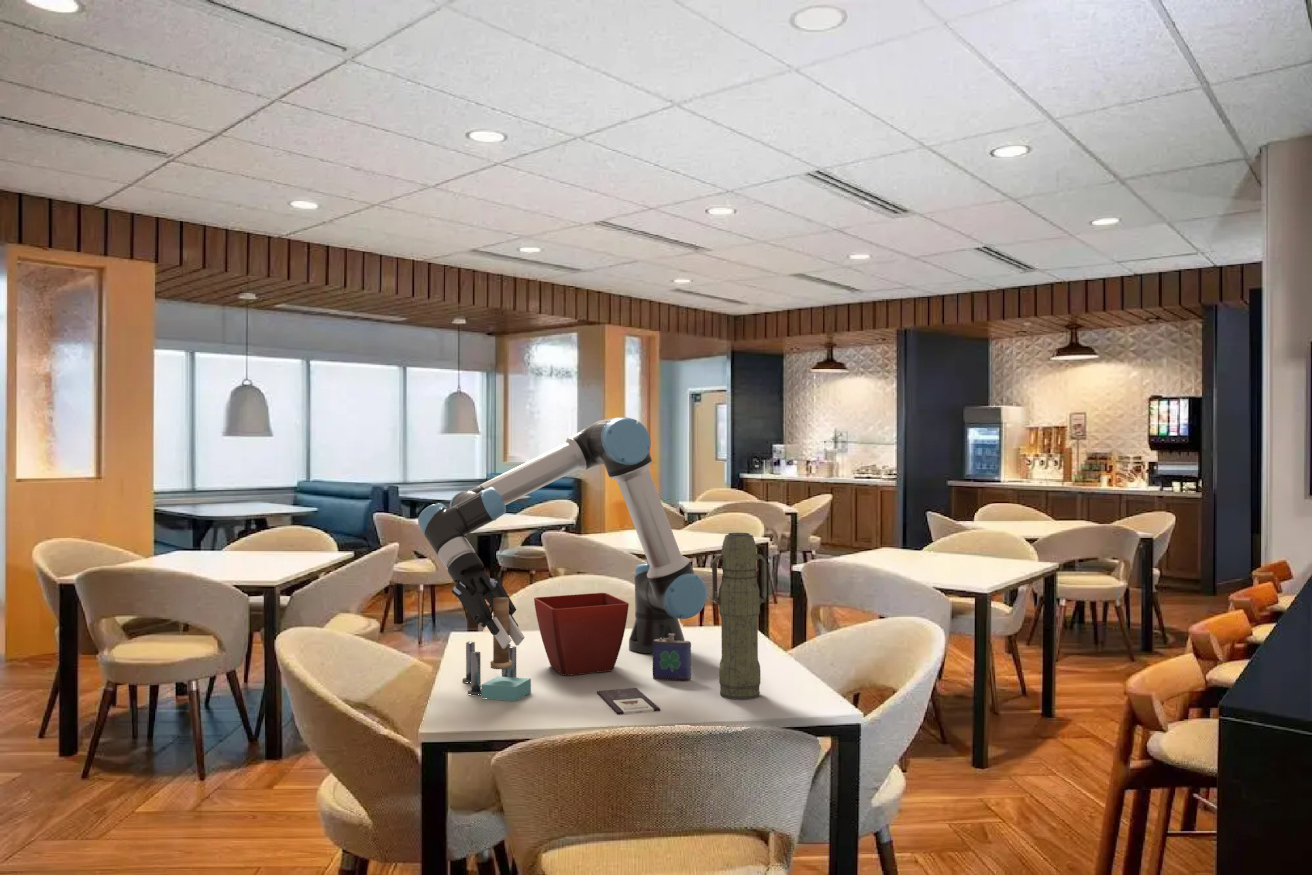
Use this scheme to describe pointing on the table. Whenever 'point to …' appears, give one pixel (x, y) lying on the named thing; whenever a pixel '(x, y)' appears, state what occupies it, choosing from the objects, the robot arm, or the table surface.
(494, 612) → the brown flanged cylinder
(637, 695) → the chocolate bar
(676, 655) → the flask
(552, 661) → the plant pot
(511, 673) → the post course
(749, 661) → the thermos
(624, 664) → the table surface
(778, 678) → the table surface
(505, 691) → the block
